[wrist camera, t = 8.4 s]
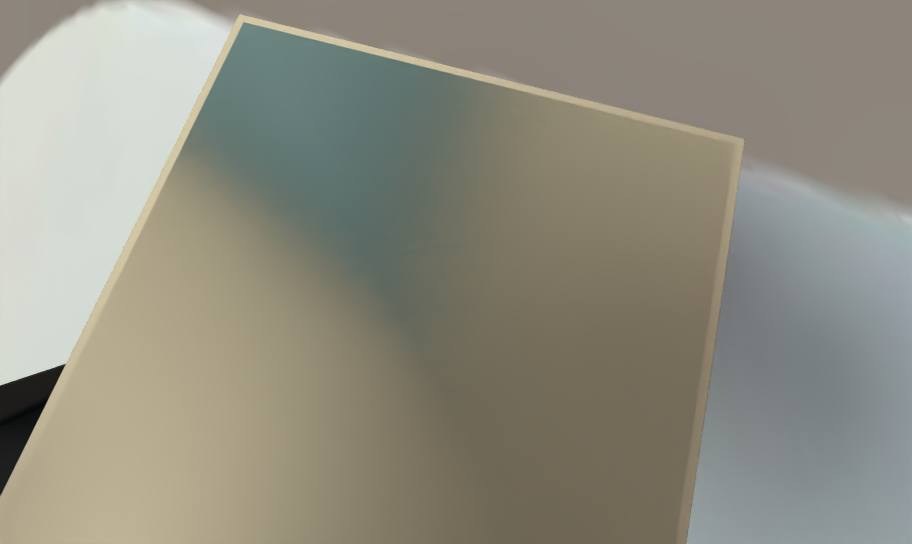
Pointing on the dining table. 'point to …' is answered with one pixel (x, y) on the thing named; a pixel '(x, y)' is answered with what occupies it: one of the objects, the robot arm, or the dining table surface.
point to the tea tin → (393, 318)
